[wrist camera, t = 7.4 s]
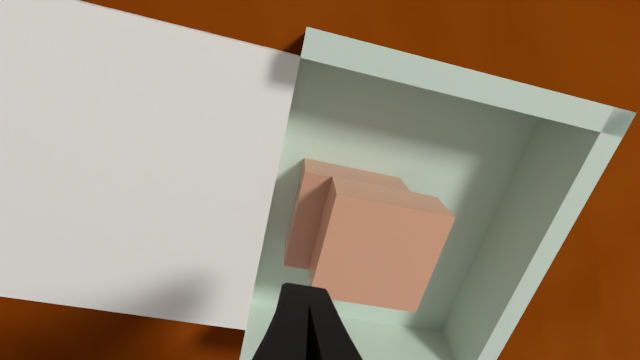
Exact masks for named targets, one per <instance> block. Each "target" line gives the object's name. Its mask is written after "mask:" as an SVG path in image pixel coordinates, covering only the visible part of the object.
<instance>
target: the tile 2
mask: <svg viewBox="0 0 640 360" xmlns="http://www.w3.org/2000/svg"><path fill="white" fill-rule="evenodd" d="M455 218H456V217H455V216H454V215H453V214H452V213H451V212H450V210H449V209H448V208H447V207H446V206H445V205H444V204H443V203H442V202H441V201H440V200H439V198H438V197H435V196H430V195H425V194H420V193H415V192H410V191H405V190H400V189H395V188H390V187H385V186H380V185H375V184H370V183H365V182H360V181H355V180H350V179H345V178H340V177H335V176H332V179H331V183H330V187H329V191H328V195H327V198H326V202H325V206H324V210H323V214H322V218H321V221H320V225H319V229H318V233H317V237H316V241H315V244H314V248H313V252H312V256H311V260H310V264H309V268H308V277H309V286H312V287H319V288H325V289H326V290H327V291H328V293H329V295H330V297H331V300H337V301H343V302H350V303H356V304H363V305H370V306H376V307H383V308H389V309H396V310H403V311H409V312H416V311H417V308H418V306H419V304H420V301H421V299H422V296H423V294H424V292H425V289H426V287H427V284H428V282H429V280H430V277H431V275H432V272H433V270H434V268H435V265H436V263H437V261H438V258H439V256H440V253H441V251H442V249H443V246H444V244H445V241H446V239H447V237H448V234H449V232H450V229H451V227H452V225H453V222H454V220H455Z"/></svg>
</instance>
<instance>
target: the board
mask: <svg viewBox="0 0 640 360" xmlns="http://www.w3.org/2000/svg"><path fill="white" fill-rule="evenodd" d="M300 57H301V56H300V55H296V54H292V53H288V52H284V51H280V50H276V49H272V48H268V47H264V46H260V45H256V44H252V43H248V42H244V41H240V40H236V39H232V38H228V37H224V36H220V35H216V34H212V33H208V32H204V31H200V30H196V29H192V28H188V27H184V26H180V25H176V24H172V23H168V22H164V21H160V20H156V19H152V18H148V17H144V16H140V15H136V14H132V13H128V12H124V11H120V10H116V9H112V8H108V7H104V6H100V5H96V4H92V3H88V2H84V1H80V0H0V296H2V297H9V298H16V299H24V300H31V301H38V302H45V303H52V304H60V305H67V306H74V307H81V308H89V309H96V310H103V311H110V312H118V313H125V314H132V315H139V316H146V317H154V318H161V319H168V320H175V321H183V322H190V323H197V324H204V325H212V326H219V327H226V328H233V329H241V330H246V325H247V320H248V315H249V310H250V305H251V300H252V295H253V290H254V285H255V280H256V275H257V270H258V266H259V261H260V256H261V251H262V246H263V241H264V236H265V231H266V226H267V221H268V216H269V211H270V206H271V201H272V196H273V191H274V186H275V181H276V176H277V171H278V166H279V161H280V157H281V152H282V147H283V142H284V137H285V132H286V127H287V122H288V117H289V112H290V107H291V102H292V97H293V92H294V87H295V82H296V77H297V72H298V67H299V62H300Z"/></svg>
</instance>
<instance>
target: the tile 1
mask: <svg viewBox="0 0 640 360" xmlns="http://www.w3.org/2000/svg"><path fill="white" fill-rule="evenodd" d="M332 176H335V177H340V178H345V179H350V180H355V181H360V182H365V183H370V184H375V185H380V186H385V187H390V188H395V189H400V190H405V191H410V190H409V189H408V188H407V186H406V185H405V184H404V183H403V181H402V180H401V179H400V178H399V177H394V176H389V175H384V174H379V173H375V172H370V171H365V170H360V169H355V168H350V167H346V166H341V165H336V164H331V163H326V162H322V161H317V160H312V159H307V158H305V159H304V163H303V167H302V172H301V176H300V181H299V185H298V189H297V194H296V198H295V203H294V207H293V211H292V216H291V220H290V225H289V229H288V234H287V238H286V242H285V252H284V263H283V266H289V267H295V268H302V269H308V268H309V264H310V260H311V256H312V252H313V248H314V244H315V241H316V237H317V233H318V229H319V225H320V221H321V218H322V214H323V210H324V206H325V202H326V198H327V195H328V191H329V187H330V183H331V179H332Z"/></svg>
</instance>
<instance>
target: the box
mask: <svg viewBox="0 0 640 360" xmlns="http://www.w3.org/2000/svg"><path fill="white" fill-rule="evenodd" d="M635 115H636V113H635V112H631V111H627V110H623V109H620V108H616V107H612V106H608V105H604V104H600V103H597V102H593V101H589V100H585V99H581V98H577V97H574V96H570V95H566V94H562V93H558V92H555V91H551V90H547V89H543V88H539V87H535V86H532V85H528V84H524V83H520V82H516V81H512V80H509V79H505V78H501V77H497V76H493V75H489V74H486V73H482V72H478V71H474V70H470V69H467V68H463V67H459V66H455V65H451V64H447V63H444V62H440V61H436V60H432V59H428V58H424V57H421V56H417V55H413V54H409V53H405V52H401V51H398V50H394V49H390V48H386V47H382V46H378V45H375V44H371V43H367V42H363V41H359V40H356V39H352V38H348V37H344V36H340V35H336V34H333V33H329V32H325V31H321V30H317V29H313V28H310V27H307V28H306V33H305V38H304V43H303V48H302V52H301V57H300V62H299V67H298V72H297V77H296V82H295V87H294V92H293V97H292V102H291V107H290V112H289V117H288V122H287V127H286V132H285V137H284V142H283V147H282V152H281V157H280V161H279V166H278V171H277V176H276V181H275V186H274V191H273V196H272V201H271V206H270V211H269V216H268V221H267V226H266V231H265V236H264V241H263V246H262V251H261V256H260V261H259V266H258V270H257V275H256V280H255V285H254V290H253V295H252V300H251V305H250V310H249V315H248V320H247V325H246V330H245V335H244V340H243V345H242V350H241V355H240V360H252V358H253V356H254V354H255V352H256V351H257V349H258V347H259V345H260V343H261V341H262V340H263V338H264V336H265V334H266V332H267V329H268V327H269V325H270V323H271V321H272V318H273V316H274V314H275V311H276V308H277V303H278V299H279V295H280V291H281V287H282V285H283V284H284V283H286V282H287V283H293V284H300V285H306V286H309V277H308V269H302V268H295V267H289V266H283V263H284V252H285V242H286V238H287V234H288V229H289V225H290V220H291V216H292V211H293V207H294V203H295V198H296V194H297V189H298V185H299V181H300V176H301V172H302V167H303V163H304V159H305V158H307V159H312V160H317V161H322V162H326V163H331V164H336V165H341V166H346V167H350V168H355V169H360V170H365V171H370V172H375V173H379V174H384V175H389V176H394V177H399V178H400V179H401V180H402V181H403V183H404V184H405V185H406V186H407V188H408V189H409V190H410V192H415V193H420V194H425V195H430V196H435V197H438V198H439V200H440V201H441V202H442V203H443V204H444V205H445V206H446V207H447V208H448V209H449V210H450V212H451V213H452V214H453V215H454V216H455V217H456V218H455V220H454V222H453V225H452V227H451V229H450V232H449V234H448V237H447V239H446V241H445V244H444V246H443V249H442V251H441V253H440V256H439V258H438V261H437V263H436V265H435V268H434V270H433V272H432V275H431V277H430V280H429V282H428V284H427V287H426V289H425V292H424V294H423V296H422V299H421V301H420V304H419V306H418V308H417V311H416V312H409V311H403V310H396V309H389V308H383V307H376V306H370V305H363V304H356V303H350V302H343V301H337V300H332V302H333V304H334V306H335V308H336V310H337V312H338V315H339V317H340V319H341V321H342V323H343V325H344V327H345V328H346V330H347V332H348V334H349V336H350V338H351V340H352V341H353V343H354V345H355V347H356V349H357V350H358V352H359V354H360V356H361V357H362V359H363V360H497V358H498V356H499V355H500V353H501V351H502V349H503V348H504V346H505V344H506V342H507V341H508V339H509V337H510V335H511V334H512V332H513V330H514V328H515V326H516V325H517V323H518V321H519V319H520V318H521V316H522V314H523V312H524V311H525V309H526V307H527V305H528V304H529V302H530V300H531V298H532V297H533V295H534V293H535V291H536V289H537V288H538V286H539V284H540V282H541V281H542V279H543V277H544V275H545V274H546V272H547V270H548V268H549V267H550V265H551V263H552V261H553V259H554V258H555V256H556V254H557V252H558V251H559V249H560V247H561V245H562V244H563V242H564V240H565V238H566V237H567V235H568V233H569V231H570V229H571V228H572V226H573V224H574V222H575V221H576V219H577V217H578V215H579V214H580V212H581V210H582V208H583V207H584V205H585V203H586V201H587V200H588V198H589V196H590V194H591V192H592V191H593V189H594V187H595V185H596V184H597V182H598V180H599V178H600V177H601V175H602V173H603V171H604V170H605V168H606V166H607V164H608V162H609V161H610V159H611V157H612V155H613V154H614V152H615V150H616V148H617V147H618V145H619V143H620V141H621V140H622V138H623V136H624V134H625V132H626V131H627V129H628V127H629V125H630V124H631V122H632V120H633V118H634V117H635Z"/></svg>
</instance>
